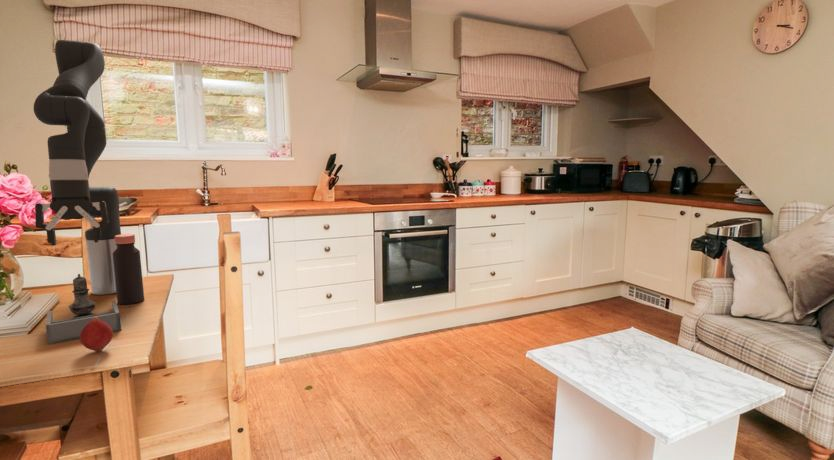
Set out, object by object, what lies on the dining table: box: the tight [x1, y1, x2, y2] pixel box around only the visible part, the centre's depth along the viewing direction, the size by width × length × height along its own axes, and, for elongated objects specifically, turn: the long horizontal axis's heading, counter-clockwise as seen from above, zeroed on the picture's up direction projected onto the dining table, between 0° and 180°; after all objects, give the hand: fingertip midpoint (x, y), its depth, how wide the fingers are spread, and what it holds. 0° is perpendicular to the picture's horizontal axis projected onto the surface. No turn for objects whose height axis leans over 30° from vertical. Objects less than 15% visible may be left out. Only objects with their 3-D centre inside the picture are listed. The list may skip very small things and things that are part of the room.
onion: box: [79, 317, 114, 353], centre depth 98 cm, size 6×6×8 cm
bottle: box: [113, 233, 145, 306], centre depth 131 cm, size 7×7×20 cm
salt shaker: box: [68, 273, 97, 318], centre depth 118 cm, size 6×6×12 cm
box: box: [45, 300, 122, 345], centre depth 110 cm, size 12×14×4 cm
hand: (75, 243), depth 111 cm, fingers open, 8 cm apart
